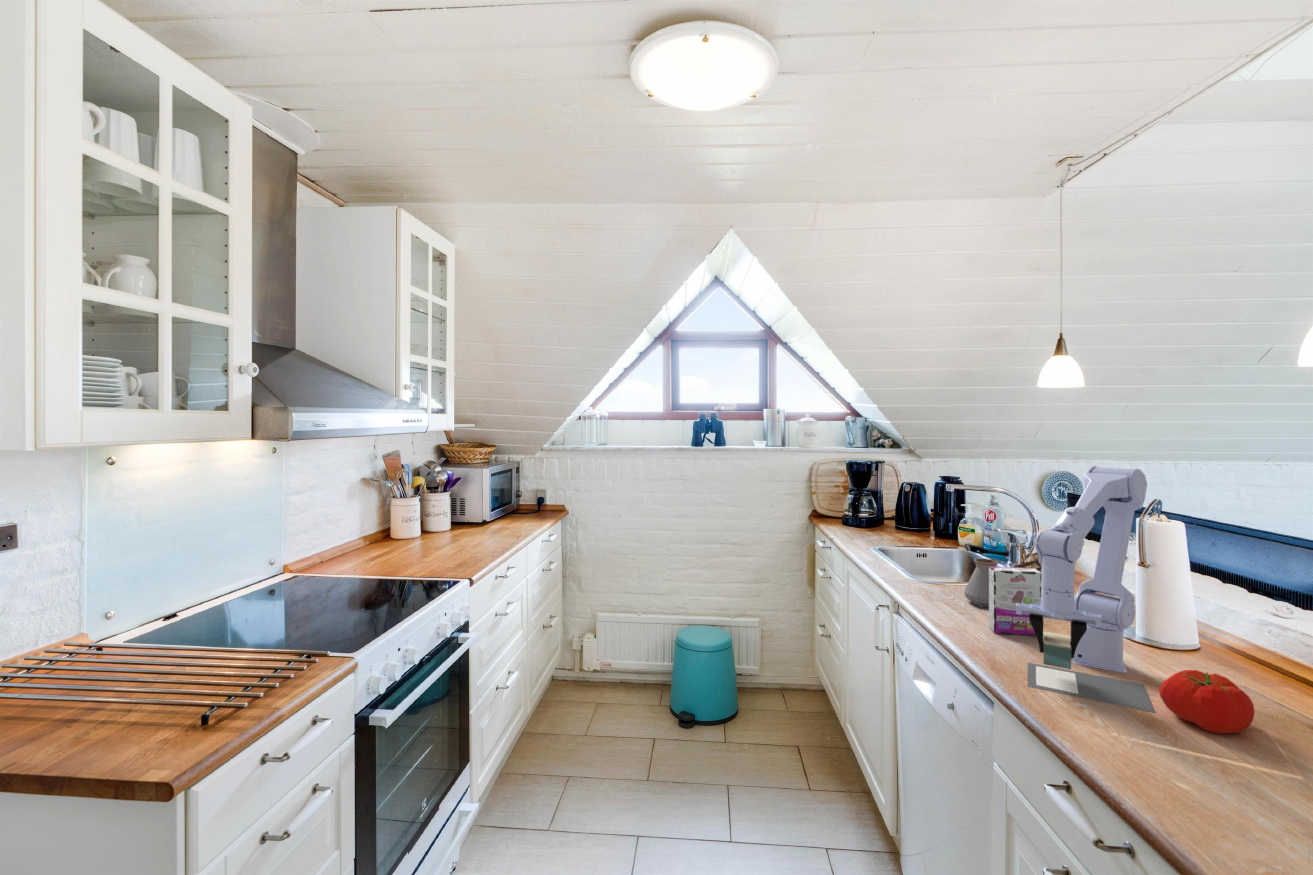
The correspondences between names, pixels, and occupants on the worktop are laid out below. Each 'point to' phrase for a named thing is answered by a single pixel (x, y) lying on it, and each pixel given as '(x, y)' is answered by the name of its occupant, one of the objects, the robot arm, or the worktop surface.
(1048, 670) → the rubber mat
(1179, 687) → the tomato
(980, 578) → the coffee pot
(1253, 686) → the worktop surface
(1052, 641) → the green and cream block
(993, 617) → the candy bar box
